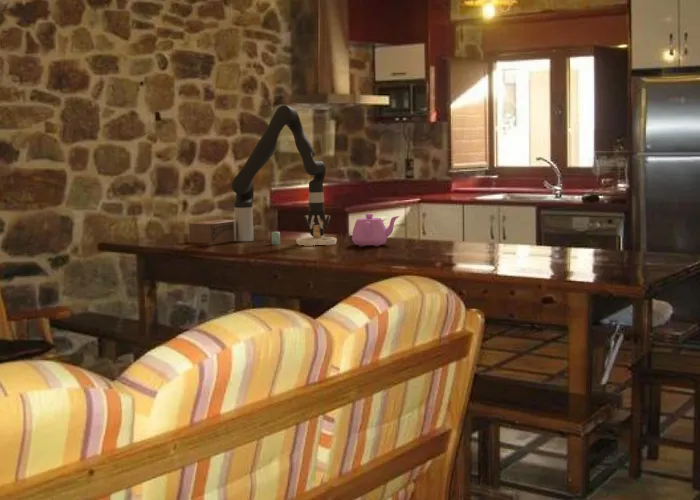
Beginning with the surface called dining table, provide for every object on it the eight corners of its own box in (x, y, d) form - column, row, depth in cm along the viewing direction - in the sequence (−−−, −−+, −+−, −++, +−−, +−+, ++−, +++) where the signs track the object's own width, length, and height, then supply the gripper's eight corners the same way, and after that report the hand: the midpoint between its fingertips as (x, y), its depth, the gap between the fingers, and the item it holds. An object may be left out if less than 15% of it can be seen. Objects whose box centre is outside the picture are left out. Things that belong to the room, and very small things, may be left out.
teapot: (349, 248, 436) (349, 216, 435) (354, 243, 457) (353, 212, 455) (398, 248, 434) (398, 215, 432) (400, 243, 455) (400, 212, 453)
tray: (293, 245, 451) (292, 240, 451) (302, 241, 470) (302, 236, 470) (331, 245, 448) (331, 240, 447) (339, 241, 466) (339, 236, 466)
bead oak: (314, 237, 466) (313, 225, 465) (322, 237, 465) (321, 225, 465) (312, 238, 462) (312, 225, 462) (320, 238, 461) (320, 225, 461)
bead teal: (271, 244, 459) (270, 232, 458) (273, 243, 463) (272, 231, 462) (278, 244, 458) (278, 232, 458) (281, 243, 462) (280, 231, 461)
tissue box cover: (210, 244, 470) (209, 224, 469) (189, 242, 478) (189, 223, 477) (244, 239, 491) (244, 220, 490) (224, 238, 499) (223, 219, 498)
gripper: (332, 200, 464) (332, 235, 466) (304, 201, 467) (304, 235, 469) (328, 201, 457) (329, 237, 459) (300, 202, 459) (301, 237, 461)
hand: (317, 236), depth 464 cm, fingers closed on bead oak, 4 cm apart
